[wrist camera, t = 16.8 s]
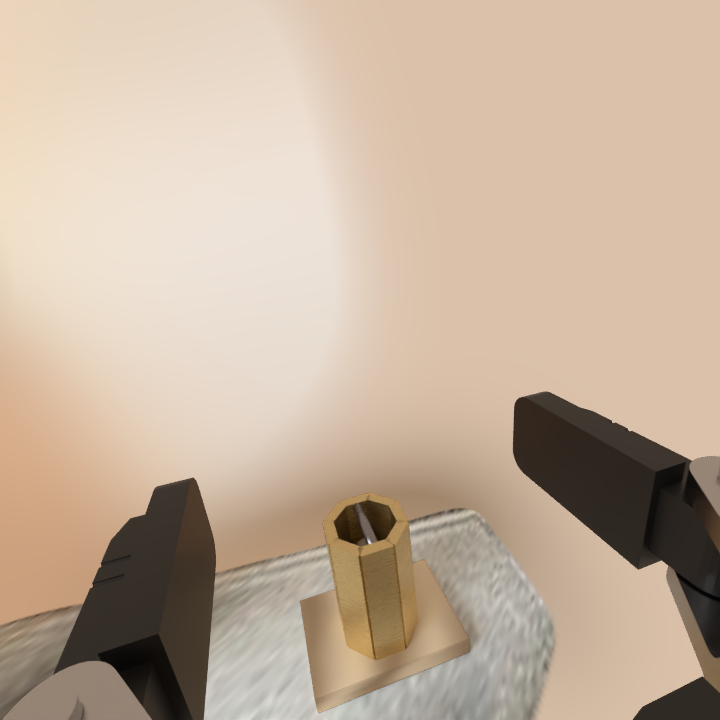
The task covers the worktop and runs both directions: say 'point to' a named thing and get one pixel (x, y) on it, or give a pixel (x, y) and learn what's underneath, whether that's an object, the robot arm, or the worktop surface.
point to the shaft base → (363, 675)
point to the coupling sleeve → (372, 574)
